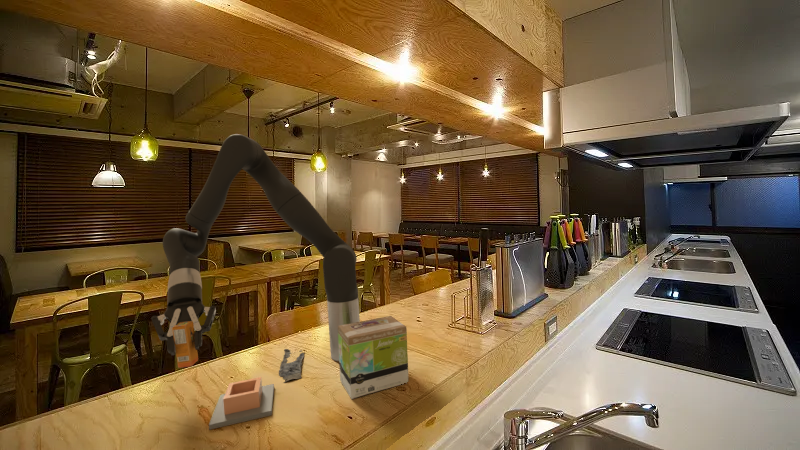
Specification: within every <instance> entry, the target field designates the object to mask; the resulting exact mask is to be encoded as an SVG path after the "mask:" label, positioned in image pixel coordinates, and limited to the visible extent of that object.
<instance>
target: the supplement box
mask: <svg viewBox="0 0 800 450" xmlns="http://www.w3.org/2000/svg"><path fill="white" fill-rule="evenodd" d="M172 331H173V337H174V344H175V356H176V361H177V368H178V369H180V368H181V369H182V368H190V367H193V366H194V364H196V362H198V361H199V354H198V353H199V352H198V350H195V338H194V332H195V329H194V325H193V321H188V322H181V323H179V324H177V325H175V326H174V327H172Z"/></svg>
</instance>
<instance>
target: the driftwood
mask: <svg viewBox="0 0 800 450" xmlns="http://www.w3.org/2000/svg"><path fill="white" fill-rule="evenodd" d="M283 351H284V354H283V359H282V361H280V367H279V370H278V376H279V378H282V380H284V382H283V383H286V382H288V381H290V380H294V379H295V380H296V379H299V380H300V379H301V378H302V375H301V372H302V366H303V363H302V361H303V358H304V356H305V353H304V352H303V350H302V349H300V350H299V352H298V353H300V354H299V356H297V357H296V359H295V360H294V361H290V362H288V359H289V358H290V357H291V354H292V352H291V350H290V349H289V348H288V349H287V348H284V350H283ZM295 353H297V352H295Z"/></svg>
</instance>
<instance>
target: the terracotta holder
mask: <svg viewBox="0 0 800 450" xmlns="http://www.w3.org/2000/svg"><path fill="white" fill-rule="evenodd" d="M262 383H263V381H262V376H258V377H254V378H249V379H244V380H239V381H235V382H229V383H228V386H227V388H226V390H225V393H224V394H225V396H224V399H223V402H224V413H225V415H227V414H231V413H235V412H240V411H244V410H249V409H253V408H258V407H260V403H261V396H262V386H263V384H262Z"/></svg>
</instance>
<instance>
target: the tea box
mask: <svg viewBox="0 0 800 450" xmlns="http://www.w3.org/2000/svg"><path fill="white" fill-rule="evenodd" d="M407 331H408V330H407V325H405V324H404V323H402V322H401V321H399V320H398V319H396V318H395V317H393V316H392V315H389V316H388V315H387V316H383V317H378V318H372V319H367V320H361V321H360V322H356V323H350V324H345V325H340V326H338V343H339V361H338V362H339V364H338V365H339V379H340V380H339V381H340V382H341V384H342V386H343V387H344V389H345V390H346V393H347V394H348V396H349V397H350V399H351V400H354V399H357V398H359V397H362V396H366V395H368V394H372V393H377V392H380V391H382V390H387V389H390V388H394V387H397V386H401V384H402V385H405V384H404V383H406V384H408V383H407V382H409V358H408V357H409V355H408V336H407V335H408V334H407Z"/></svg>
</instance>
